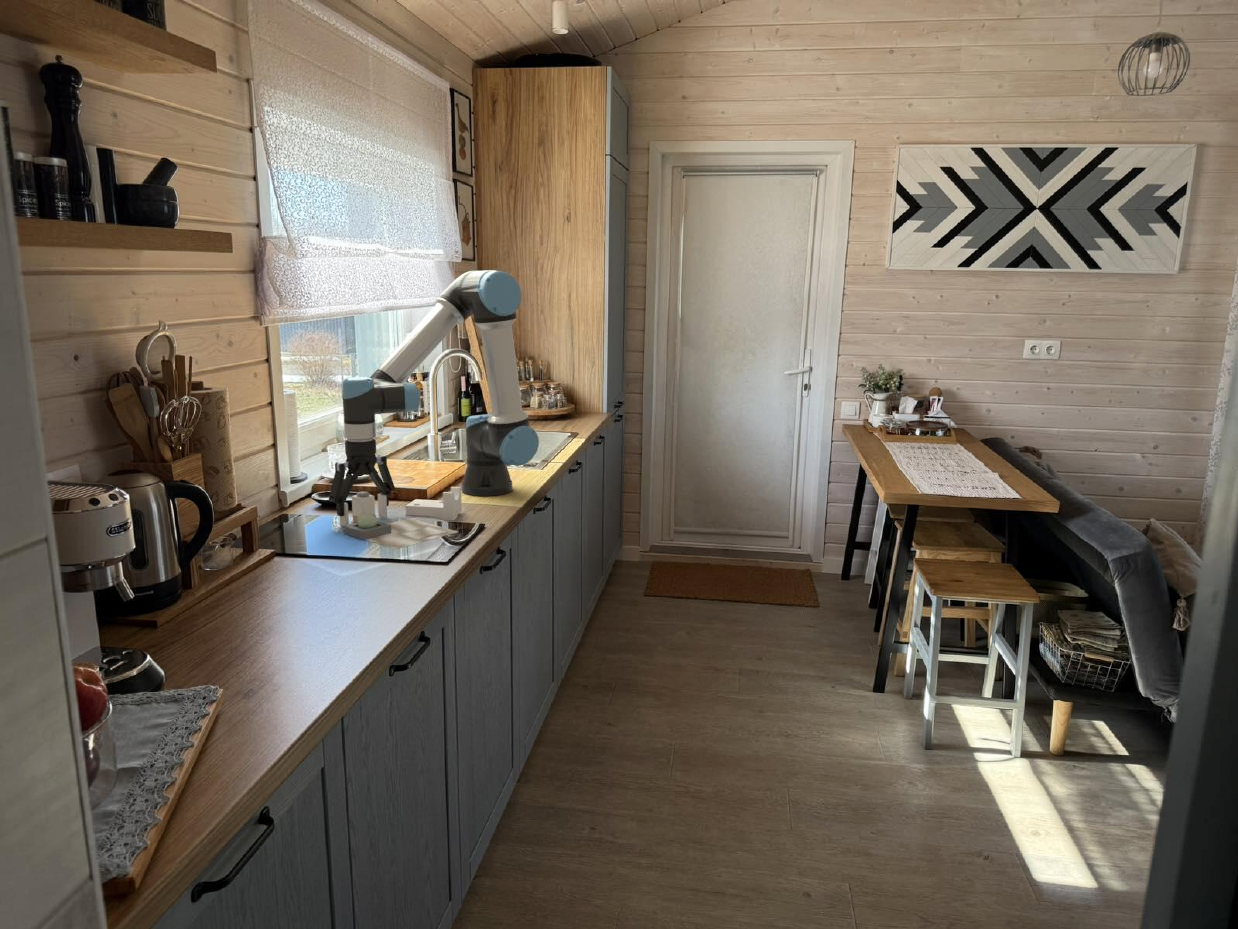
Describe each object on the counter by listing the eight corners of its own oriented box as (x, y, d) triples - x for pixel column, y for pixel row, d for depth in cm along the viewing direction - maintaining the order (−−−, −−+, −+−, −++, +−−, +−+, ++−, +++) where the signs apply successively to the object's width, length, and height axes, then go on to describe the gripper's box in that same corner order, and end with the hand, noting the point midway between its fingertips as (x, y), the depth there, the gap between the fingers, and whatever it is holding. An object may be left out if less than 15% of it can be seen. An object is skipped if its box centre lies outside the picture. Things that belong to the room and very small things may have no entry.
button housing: (371, 526, 216) (371, 519, 216) (391, 532, 212) (391, 525, 211) (343, 533, 210) (343, 525, 210) (363, 540, 205) (363, 532, 205)
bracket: (461, 514, 234) (461, 487, 232) (453, 521, 227) (452, 493, 225) (416, 511, 235) (415, 484, 234) (405, 518, 228) (404, 490, 227)
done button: (369, 523, 214) (369, 514, 213) (380, 527, 211) (380, 517, 210) (354, 527, 210) (353, 517, 210) (365, 531, 208) (364, 521, 207)
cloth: (411, 519, 226) (410, 516, 226) (464, 534, 214) (464, 531, 213) (341, 536, 210) (340, 533, 210) (394, 554, 198) (394, 550, 197)
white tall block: (366, 521, 225) (364, 490, 223) (375, 524, 222) (374, 492, 220) (353, 524, 222) (351, 493, 220) (362, 527, 219) (360, 495, 217)
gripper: (389, 431, 228) (392, 512, 233) (310, 443, 211) (315, 530, 215) (407, 435, 224) (410, 517, 228) (327, 447, 206) (332, 535, 211)
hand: (364, 523), depth 222 cm, fingers open, 11 cm apart
